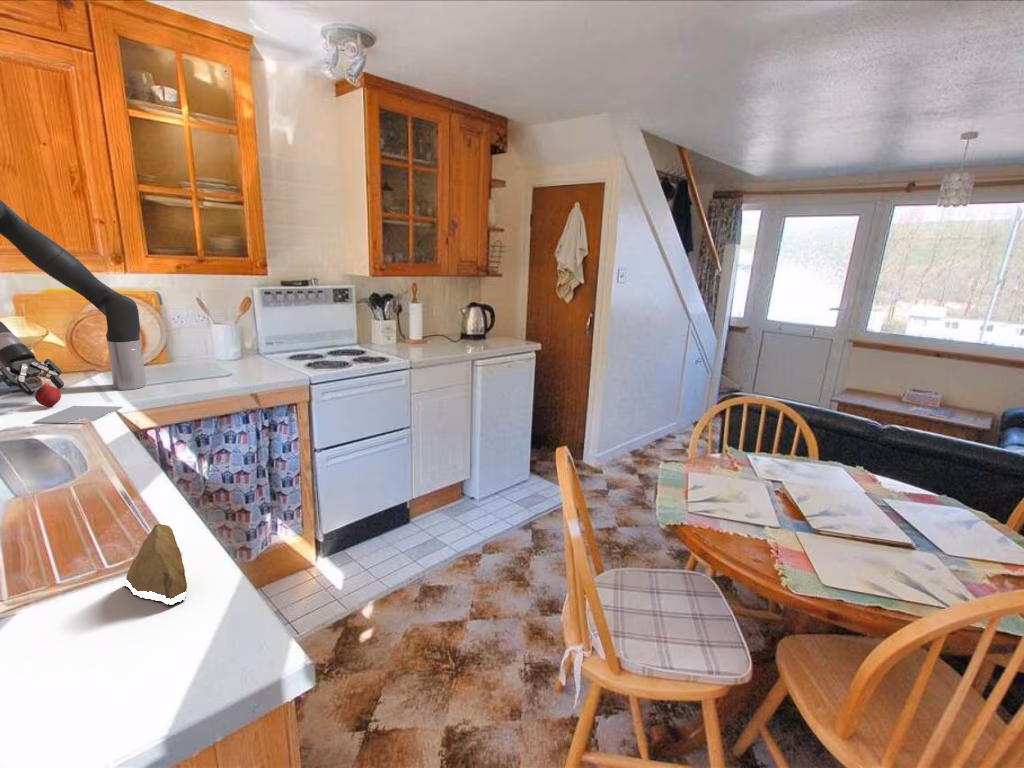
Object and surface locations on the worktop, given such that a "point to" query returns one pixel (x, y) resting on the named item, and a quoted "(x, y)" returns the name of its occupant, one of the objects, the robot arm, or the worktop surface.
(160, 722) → the worktop surface
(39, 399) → the onion
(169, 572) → the rock
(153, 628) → the worktop surface
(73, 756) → the worktop surface
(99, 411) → the mat
